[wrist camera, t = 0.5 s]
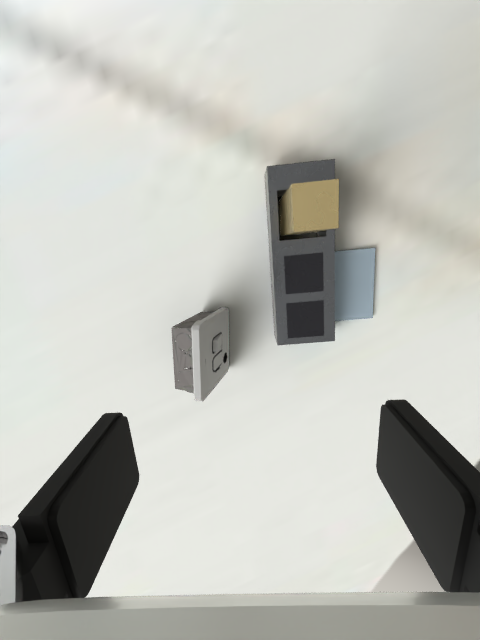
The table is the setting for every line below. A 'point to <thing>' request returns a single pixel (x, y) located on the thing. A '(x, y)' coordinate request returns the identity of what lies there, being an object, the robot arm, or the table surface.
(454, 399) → the table surface
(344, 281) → the rubber mat
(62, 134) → the table surface
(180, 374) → the electrical switch
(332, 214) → the brass peg
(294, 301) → the rail
